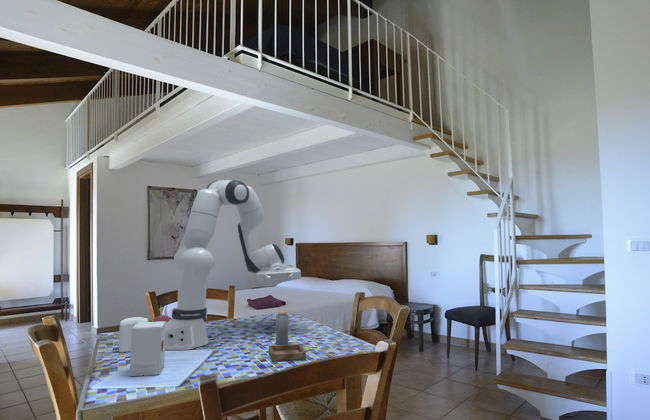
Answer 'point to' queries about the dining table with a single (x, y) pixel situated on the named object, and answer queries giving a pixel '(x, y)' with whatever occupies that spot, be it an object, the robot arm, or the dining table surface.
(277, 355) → the tray
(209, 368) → the dining table surface
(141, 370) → the supplement box
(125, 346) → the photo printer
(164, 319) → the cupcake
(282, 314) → the canister
